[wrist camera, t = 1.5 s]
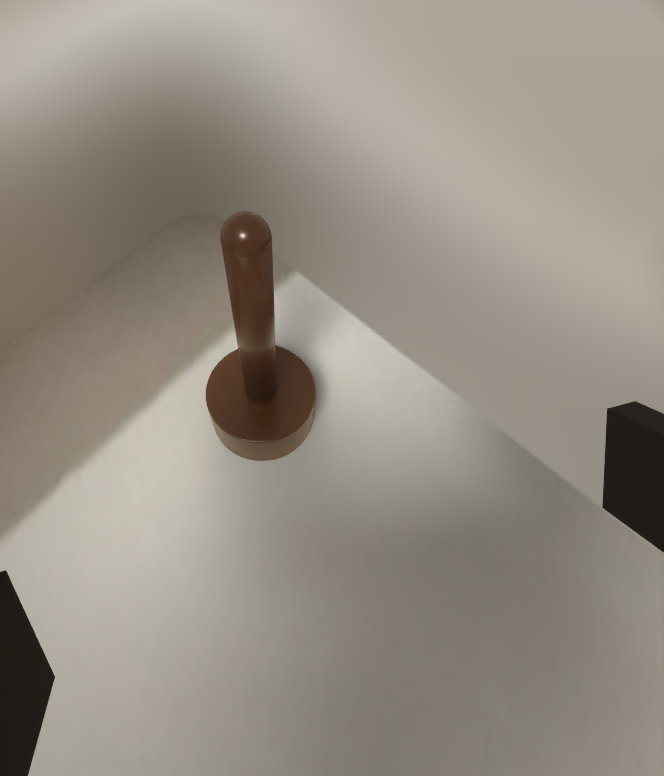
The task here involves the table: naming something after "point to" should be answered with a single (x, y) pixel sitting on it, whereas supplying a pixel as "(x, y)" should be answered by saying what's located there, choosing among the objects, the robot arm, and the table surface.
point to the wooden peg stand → (257, 356)
